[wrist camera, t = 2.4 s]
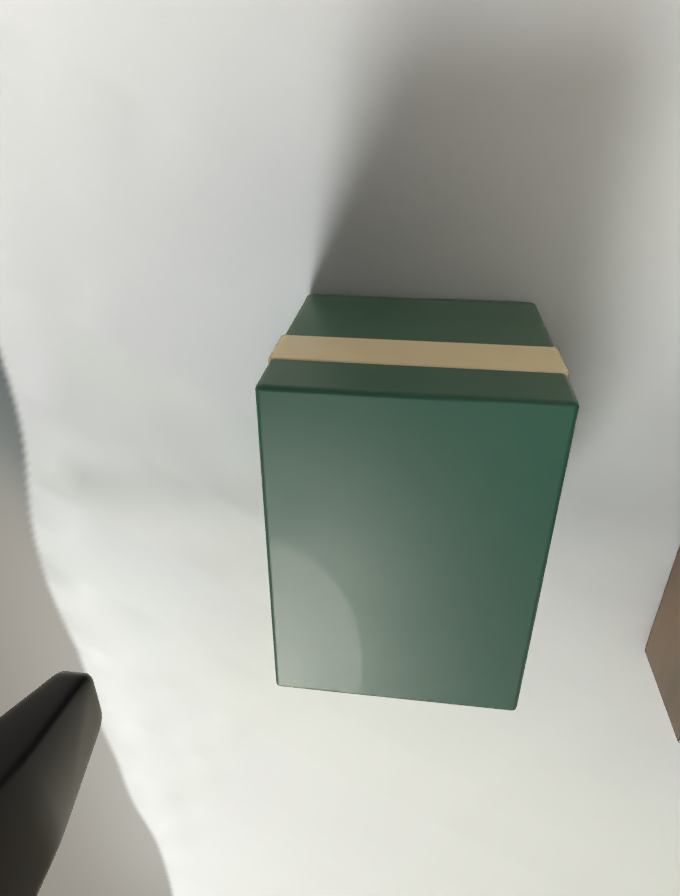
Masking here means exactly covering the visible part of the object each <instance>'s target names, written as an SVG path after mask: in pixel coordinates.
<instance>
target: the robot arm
mask: <svg viewBox="0 0 680 896" xmlns="http://www.w3.org/2000/svg"><path fill="white" fill-rule="evenodd" d="M101 720H102V712H101V707H100V704H99V700H98V697H97V693H96V689H95V686H94V682H93V679H92V677H91V676H90V675H89V674H87V673H80V672H70V671H63V672H60V673H57V674H56V675H54V676H53V677H51V679H49V680H48V681H46V682H45V683H44V684H42V685H41V686H40V687H39V688H37V689H36V690H35V691H34V692H32V693H31V694H30V695H28V696H27V697H26V698H25V699H23V700H22V701H21V702H19V703H18V704H17V705H15V706H14V707H13V708H12V709H10V710H9V711H8V712H6V713H5V714H4V715H3V716H2V717H0V896H37V894H38V892H39V890H40V888H41V885H42V883H43V881H44V879H45V877H46V874H47V872H48V870H49V868H50V866H51V863H52V861H53V859H54V856H55V854H56V852H57V849H58V847H59V844H60V842H61V840H62V837H63V834H64V832H65V829H66V826H67V823H68V821H69V818H70V815H71V812H72V809H73V806H74V803H75V800H76V797H77V794H78V791H79V789H80V785H81V783H82V780H83V777H84V774H85V771H86V768H87V765H88V762H89V759H90V756H91V753H92V750H93V747H94V745H95V742H96V739H97V736H98V733H99V730H100V726H101Z"/></svg>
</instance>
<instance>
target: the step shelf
mask: <svg viewBox="0 0 680 896" xmlns="http://www.w3.org/2000/svg"><path fill="white" fill-rule="evenodd" d="M645 653H646V655H647V658H648V661H649V663H650V666H651V669H652V672H653V674H654V677H655V680H656V683H657V685H658V688H659V691H660V694H661V696H662V699H663V702H664V705H665V707H666V710H667V713H668V716H669V718H670V721H671V724H672V727H673V729H674V732H675V735H676V738H677V740H678V742H679V743H680V547H679V550H678V553H677V556H676V559H675V562H674V565H673V568H672V571H671V574H670V577H669V580H668V583H667V586H666V589H665V592H664V595H663V598H662V601H661V604H660V607H659V610H658V613H657V616H656V619H655V622H654V625H653V628H652V631H651V634H650V637H649V640H648V643H647V646H646V649H645Z"/></svg>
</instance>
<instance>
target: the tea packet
mask: <svg viewBox="0 0 680 896" xmlns="http://www.w3.org/2000/svg"><path fill="white" fill-rule="evenodd" d="M268 363H269V364H268V366H267V368H266V370H265V371H264V373H263V375H262V377H261V378H260V380H259V382H258V384H257V386H256V388H255V390H256V404H257V418H258V432H259V446H260V460H261V474H262V488H263V502H264V516H265V530H266V544H267V558H268V572H269V585H270V599H271V613H272V627H273V641H274V655H275V669H276V681H277V684H278V685H279V686H286V687H295V688H305V689H314V690H324V691H333V692H343V693H352V694H362V695H371V696H380V697H390V698H399V699H409V700H418V701H428V702H437V703H447V704H456V705H466V706H475V707H484V708H494V709H503V710H515V709H516V707H517V702H518V698H519V693H520V688H521V683H522V678H523V674H524V669H525V664H526V659H527V654H528V650H529V645H530V640H531V635H532V630H533V625H534V621H535V616H536V611H537V606H538V601H539V597H540V592H541V587H542V582H543V577H544V572H545V568H546V563H547V558H548V553H549V548H550V544H551V539H552V534H553V529H554V524H555V520H556V515H557V510H558V505H559V500H560V495H561V491H562V486H563V481H564V476H565V471H566V467H567V462H568V457H569V452H570V447H571V442H572V438H573V433H574V428H575V423H576V418H577V414H578V409H579V404H578V401H577V399H576V397H575V394H574V392H573V390H572V388H571V385H570V383H569V381H568V377H569V373H568V370H567V368H566V366H565V364H564V361H563V359H562V357H561V355H560V352H559V350H558V348H556V347H554V346H553V344H552V342H551V340H550V337H549V335H548V333H547V330H546V328H545V326H544V323H543V321H542V319H541V317H540V314H539V312H538V310H537V307H536V305H535V304H533V303H517V302H491V301H465V300H439V299H412V298H386V297H360V296H334V295H309V296H307V298H306V300H305V302H304V303H303V305H302V307H301V309H300V310H299V312H298V314H297V316H296V317H295V319H294V321H293V323H292V324H291V326H290V328H289V330H288V331H287V333H286V335H283V336H281V338H280V340H279V341H278V343H277V345H276V347H275V348H274V350H273V352H272V353H271V355H270V357H269V359H268Z"/></svg>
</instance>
